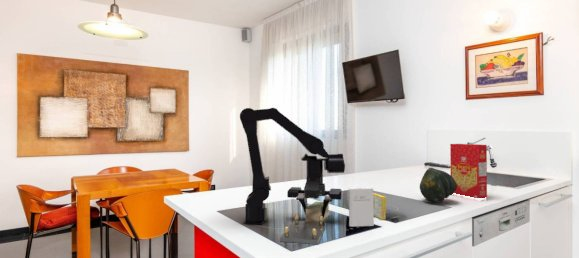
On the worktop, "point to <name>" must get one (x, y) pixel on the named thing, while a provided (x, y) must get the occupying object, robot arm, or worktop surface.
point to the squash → (437, 185)
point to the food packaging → (469, 169)
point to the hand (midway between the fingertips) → (314, 217)
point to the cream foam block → (316, 212)
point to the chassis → (304, 231)
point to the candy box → (379, 206)
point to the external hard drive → (361, 207)
